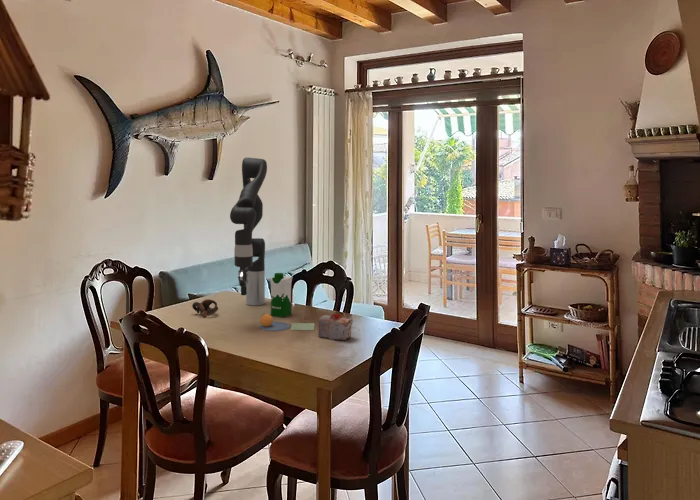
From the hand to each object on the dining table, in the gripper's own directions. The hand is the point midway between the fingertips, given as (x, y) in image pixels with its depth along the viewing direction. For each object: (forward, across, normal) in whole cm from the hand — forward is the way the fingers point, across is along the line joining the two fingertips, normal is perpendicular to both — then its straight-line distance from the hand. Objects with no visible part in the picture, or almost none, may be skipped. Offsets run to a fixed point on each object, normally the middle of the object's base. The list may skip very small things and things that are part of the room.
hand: (243, 294), depth 219 cm
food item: (+14, -15, -39) cm, 44 cm away
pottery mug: (+14, +17, +21) cm, 31 cm away
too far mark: (+14, 0, -25) cm, 29 cm away
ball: (+11, -1, -10) cm, 15 cm away
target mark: (+14, 0, -13) cm, 19 cm away
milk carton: (+14, +19, -14) cm, 27 cm away
